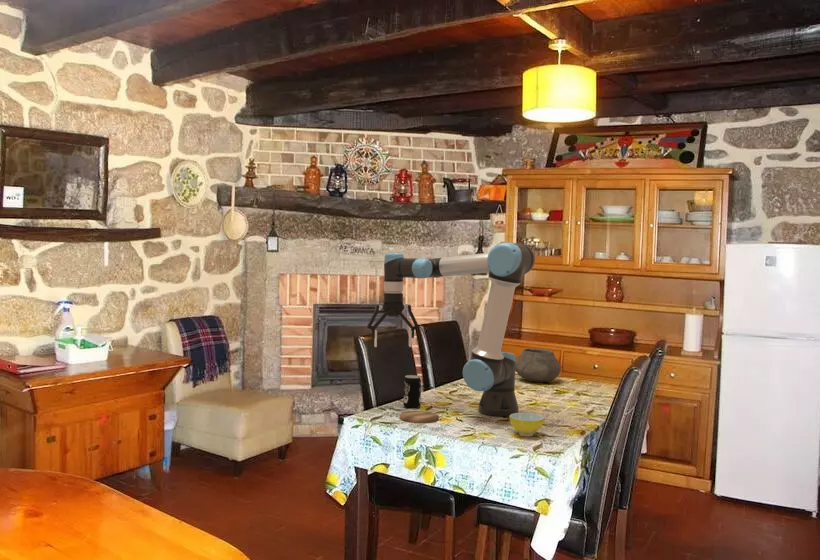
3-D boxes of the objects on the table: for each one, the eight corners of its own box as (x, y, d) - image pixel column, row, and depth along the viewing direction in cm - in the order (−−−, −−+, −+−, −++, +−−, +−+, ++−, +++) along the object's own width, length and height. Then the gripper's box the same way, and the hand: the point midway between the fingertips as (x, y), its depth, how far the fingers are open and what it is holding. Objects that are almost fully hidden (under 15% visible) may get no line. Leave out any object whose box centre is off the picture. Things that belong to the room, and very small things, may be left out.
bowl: (505, 436, 230) (506, 418, 230) (513, 429, 241) (513, 411, 241) (540, 441, 226) (540, 421, 226) (546, 432, 237) (546, 414, 237)
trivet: (445, 417, 255) (445, 414, 255) (425, 425, 243) (425, 421, 243) (413, 412, 262) (413, 408, 262) (392, 419, 251) (392, 415, 251)
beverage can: (418, 409, 267) (419, 378, 267) (401, 408, 268) (402, 377, 268) (421, 406, 274) (422, 375, 273) (405, 404, 275) (406, 374, 274)
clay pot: (564, 380, 340) (565, 349, 340) (554, 387, 321) (555, 354, 320) (520, 375, 349) (521, 345, 349) (508, 382, 330) (509, 350, 329)
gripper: (423, 292, 280) (423, 345, 281) (361, 291, 277) (360, 345, 278) (426, 293, 273) (425, 347, 274) (362, 292, 270) (361, 347, 270)
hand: (392, 346), depth 276 cm, fingers open, 13 cm apart
